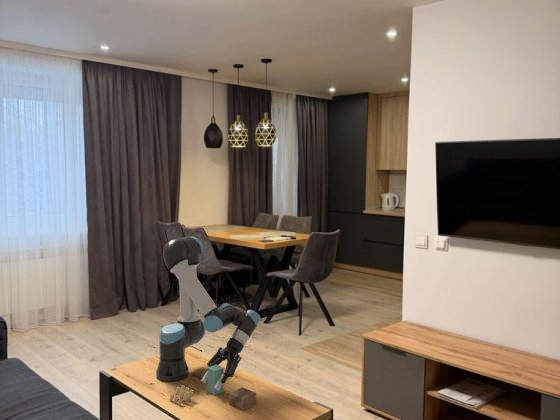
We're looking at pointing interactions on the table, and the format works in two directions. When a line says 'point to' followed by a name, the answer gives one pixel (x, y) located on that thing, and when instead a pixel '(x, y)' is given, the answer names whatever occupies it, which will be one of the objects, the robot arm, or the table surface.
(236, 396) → the walnut base
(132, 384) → the table surface
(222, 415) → the table surface
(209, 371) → the teal block
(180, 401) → the ammunition
